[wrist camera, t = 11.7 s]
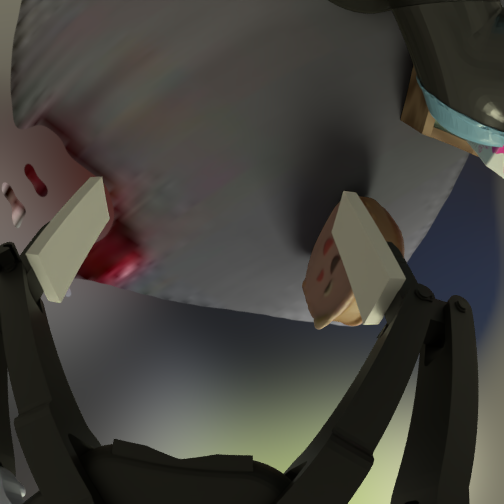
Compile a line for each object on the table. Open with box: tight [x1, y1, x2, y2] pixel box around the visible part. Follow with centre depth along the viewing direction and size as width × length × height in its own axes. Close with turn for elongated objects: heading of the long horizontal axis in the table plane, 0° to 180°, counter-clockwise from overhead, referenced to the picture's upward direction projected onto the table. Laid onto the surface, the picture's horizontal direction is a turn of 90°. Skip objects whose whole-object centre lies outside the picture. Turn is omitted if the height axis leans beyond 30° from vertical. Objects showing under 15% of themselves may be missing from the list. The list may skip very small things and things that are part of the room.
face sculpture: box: [302, 196, 404, 329], centre depth 43 cm, size 20×7×17 cm, turn 163°
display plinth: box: [400, 65, 478, 156], centre depth 29 cm, size 12×12×7 cm
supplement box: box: [465, 139, 504, 178], centre depth 23 cm, size 6×6×11 cm
